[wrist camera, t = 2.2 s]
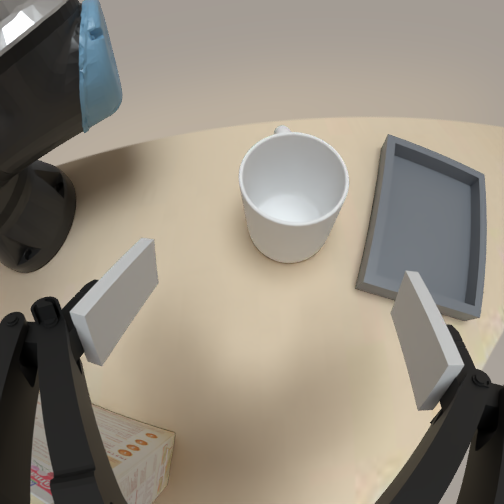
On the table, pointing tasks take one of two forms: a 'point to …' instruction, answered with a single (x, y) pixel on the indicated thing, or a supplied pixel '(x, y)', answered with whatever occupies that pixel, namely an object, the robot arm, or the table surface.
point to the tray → (427, 228)
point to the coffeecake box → (112, 457)
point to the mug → (292, 193)
